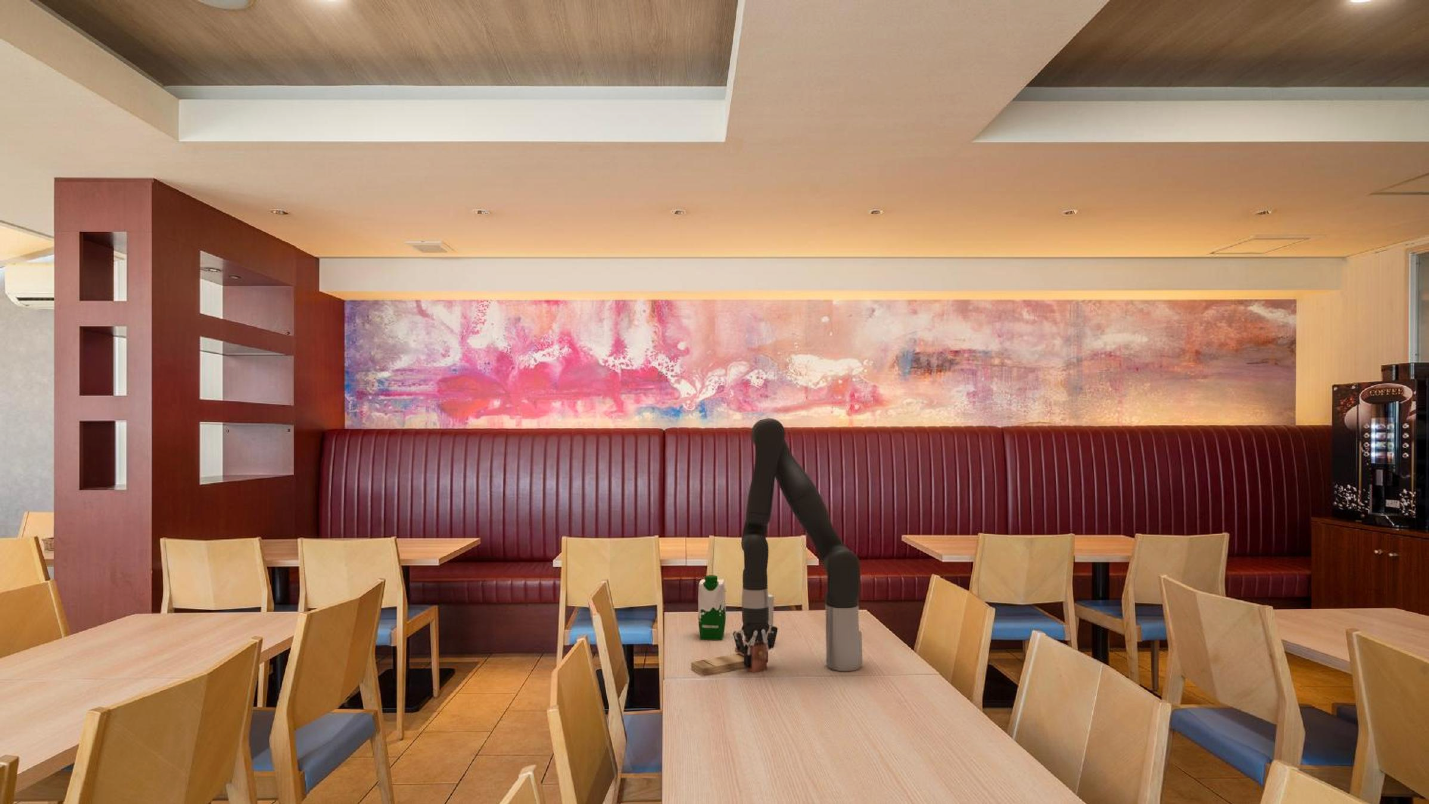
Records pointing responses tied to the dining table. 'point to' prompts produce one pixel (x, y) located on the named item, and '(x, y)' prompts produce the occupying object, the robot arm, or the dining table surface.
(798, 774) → the dining table surface
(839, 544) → the robot arm
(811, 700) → the dining table surface
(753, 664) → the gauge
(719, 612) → the milk carton
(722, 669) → the board
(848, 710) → the dining table surface
